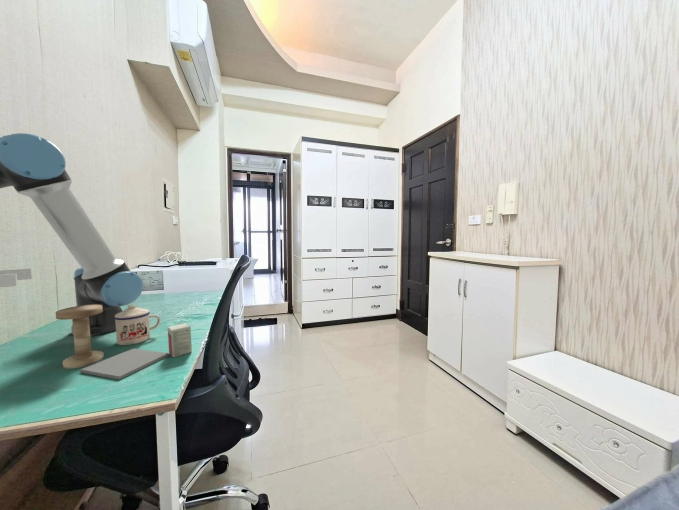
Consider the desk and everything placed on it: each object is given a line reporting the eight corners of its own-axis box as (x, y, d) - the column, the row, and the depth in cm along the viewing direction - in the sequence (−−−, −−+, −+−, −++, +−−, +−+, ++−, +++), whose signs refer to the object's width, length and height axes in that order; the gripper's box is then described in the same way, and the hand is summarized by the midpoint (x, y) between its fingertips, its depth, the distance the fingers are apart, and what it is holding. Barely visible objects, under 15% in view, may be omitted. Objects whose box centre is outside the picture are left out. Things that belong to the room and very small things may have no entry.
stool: (91, 352, 78) (87, 303, 77) (114, 356, 75) (110, 305, 74) (51, 367, 69) (46, 312, 68) (75, 371, 67) (70, 314, 66)
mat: (133, 350, 79) (133, 348, 79) (168, 355, 75) (168, 353, 75) (80, 372, 66) (80, 369, 66) (119, 379, 63) (119, 376, 63)
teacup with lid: (117, 348, 80) (114, 310, 80) (114, 340, 87) (112, 305, 86) (163, 338, 89) (162, 303, 88) (158, 331, 95) (156, 299, 94)
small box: (187, 348, 80) (186, 322, 80) (192, 352, 77) (190, 325, 77) (168, 353, 77) (167, 326, 76) (172, 358, 74) (170, 330, 73)
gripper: (-103, 295, 61) (36, 285, 74) (-202, 321, 42) (10, 300, 55) (-107, 263, 60) (34, 258, 74) (-208, 274, 41) (7, 265, 55)
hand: (24, 276), depth 65 cm, fingers open, 13 cm apart
